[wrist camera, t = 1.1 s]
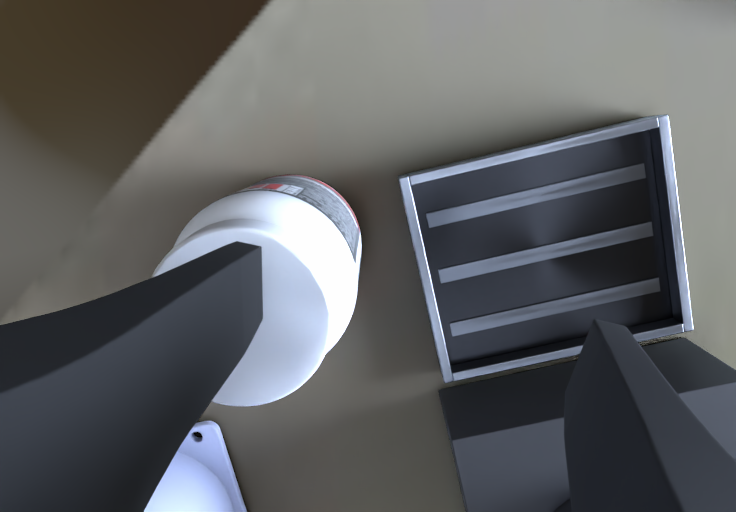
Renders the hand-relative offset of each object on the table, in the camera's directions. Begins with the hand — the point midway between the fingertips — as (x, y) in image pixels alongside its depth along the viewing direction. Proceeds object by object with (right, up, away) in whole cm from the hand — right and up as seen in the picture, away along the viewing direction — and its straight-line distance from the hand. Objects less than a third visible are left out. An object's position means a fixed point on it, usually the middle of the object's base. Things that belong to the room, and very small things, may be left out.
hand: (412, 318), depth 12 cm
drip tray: (+6, +2, +11) cm, 13 cm away
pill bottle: (-4, +2, +11) cm, 12 cm away
